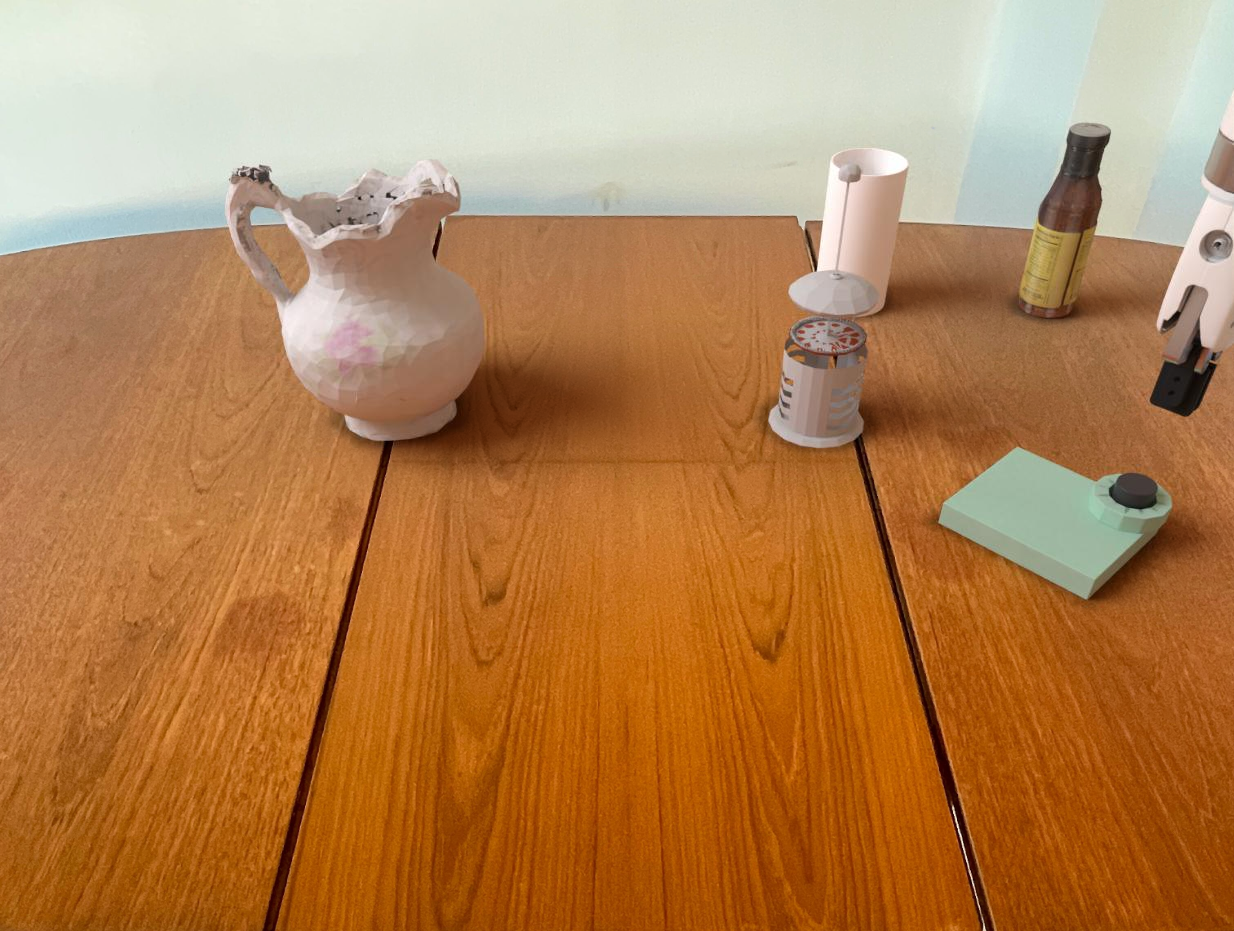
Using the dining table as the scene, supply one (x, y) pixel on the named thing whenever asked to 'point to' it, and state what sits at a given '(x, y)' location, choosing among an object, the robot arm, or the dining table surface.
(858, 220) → the white cylinder
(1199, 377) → the robot arm
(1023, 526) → the scale
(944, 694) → the dining table surface
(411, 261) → the ceramic pitcher
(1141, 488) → the tare button
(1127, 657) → the dining table surface
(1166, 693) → the dining table surface
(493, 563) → the dining table surface
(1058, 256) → the sauce bottle
